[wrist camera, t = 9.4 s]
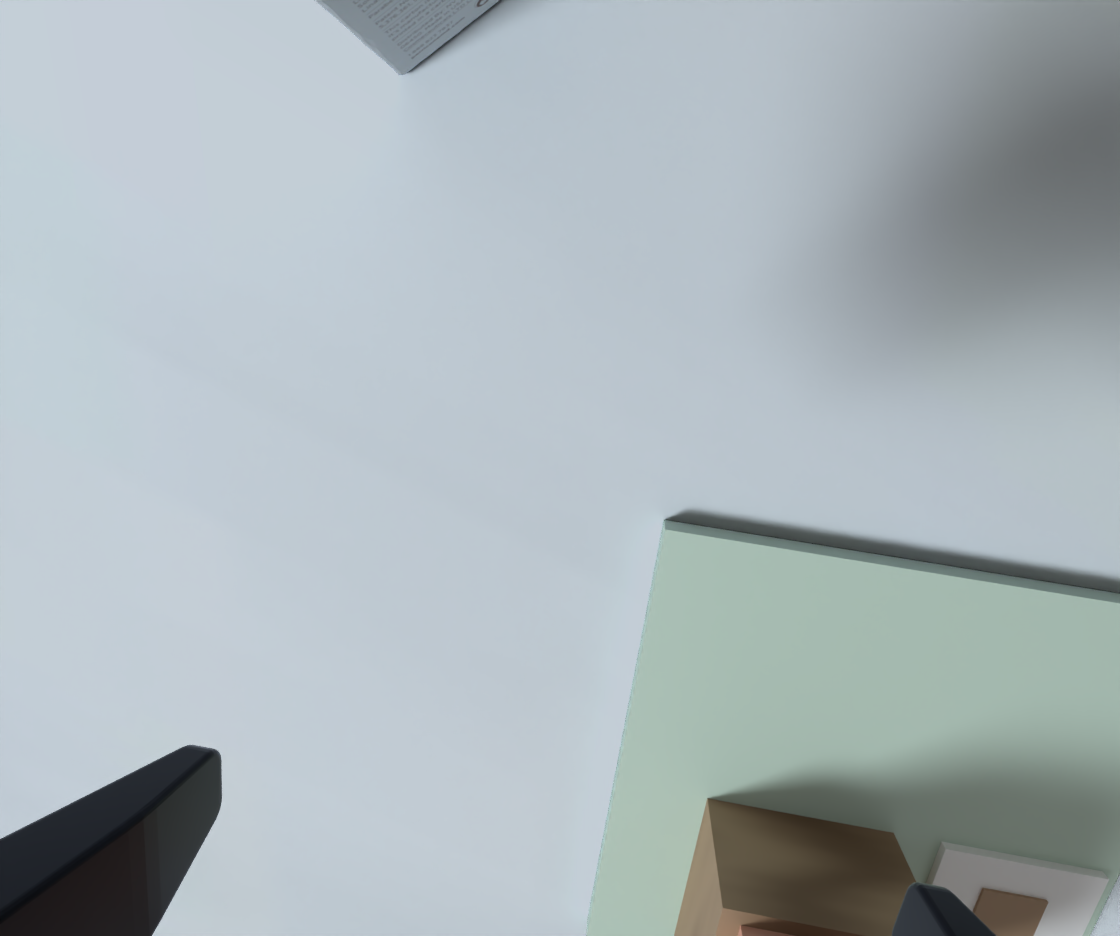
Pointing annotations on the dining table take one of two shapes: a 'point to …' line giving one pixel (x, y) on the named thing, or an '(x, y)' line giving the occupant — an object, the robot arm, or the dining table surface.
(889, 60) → the dining table surface
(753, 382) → the dining table surface
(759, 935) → the pink knobbed block
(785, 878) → the walnut brick
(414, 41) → the small box
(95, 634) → the dining table surface
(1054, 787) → the board
